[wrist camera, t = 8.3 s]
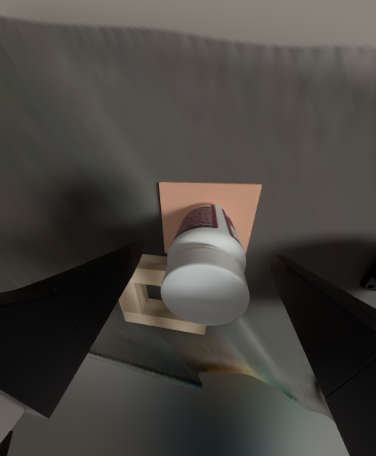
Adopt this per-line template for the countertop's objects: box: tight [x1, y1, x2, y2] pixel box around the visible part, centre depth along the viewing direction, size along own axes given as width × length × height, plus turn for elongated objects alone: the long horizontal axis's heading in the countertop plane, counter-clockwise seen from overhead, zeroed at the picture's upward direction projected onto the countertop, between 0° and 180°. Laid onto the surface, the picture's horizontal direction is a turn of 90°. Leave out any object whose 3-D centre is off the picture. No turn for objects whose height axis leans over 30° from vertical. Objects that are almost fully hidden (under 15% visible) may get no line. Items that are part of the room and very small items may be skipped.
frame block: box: [119, 254, 206, 335], centre depth 18 cm, size 12×11×2 cm
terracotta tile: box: [159, 181, 262, 255], centre depth 14 cm, size 9×8×1 cm
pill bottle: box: [161, 202, 250, 326], centre depth 10 cm, size 5×5×8 cm
